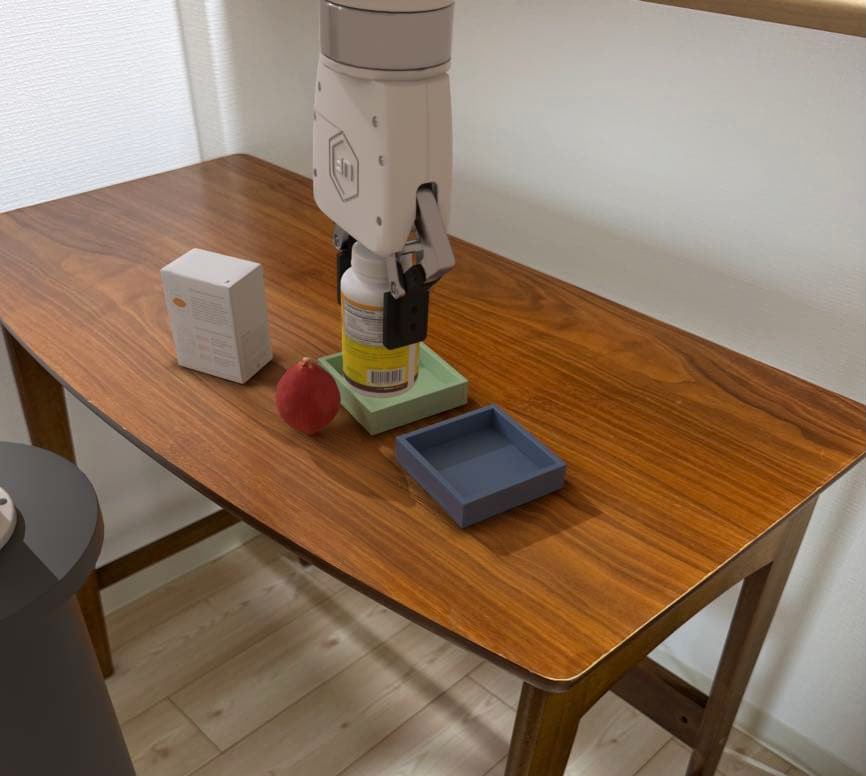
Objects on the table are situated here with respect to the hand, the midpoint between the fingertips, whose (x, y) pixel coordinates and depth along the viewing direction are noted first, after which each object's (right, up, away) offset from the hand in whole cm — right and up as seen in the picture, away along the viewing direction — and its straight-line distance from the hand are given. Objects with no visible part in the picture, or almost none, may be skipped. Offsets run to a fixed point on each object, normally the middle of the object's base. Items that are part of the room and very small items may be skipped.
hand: (381, 320), depth 63 cm
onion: (-8, -5, +21) cm, 23 cm away
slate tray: (+8, -9, +17) cm, 21 cm away
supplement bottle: (0, -4, +4) cm, 5 cm away
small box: (-18, +3, +29) cm, 34 cm away
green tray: (0, -1, +26) cm, 26 cm away
